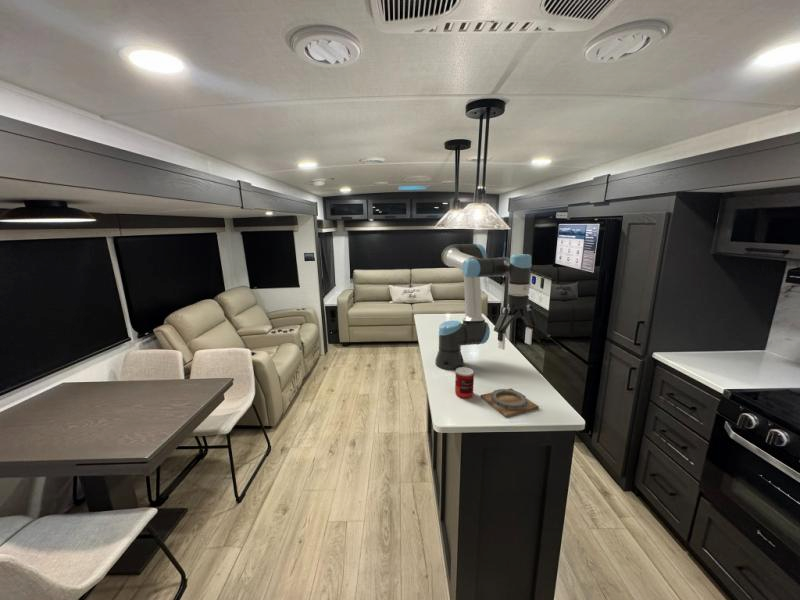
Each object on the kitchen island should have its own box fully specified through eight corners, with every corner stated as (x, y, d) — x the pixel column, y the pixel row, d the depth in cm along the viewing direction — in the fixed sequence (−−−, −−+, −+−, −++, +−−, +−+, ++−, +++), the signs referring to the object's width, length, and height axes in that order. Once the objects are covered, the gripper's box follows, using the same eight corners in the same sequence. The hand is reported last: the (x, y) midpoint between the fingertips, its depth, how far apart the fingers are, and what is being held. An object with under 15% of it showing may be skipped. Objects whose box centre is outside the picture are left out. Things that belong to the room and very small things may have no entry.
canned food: (462, 388, 137) (463, 365, 135) (477, 394, 131) (477, 371, 129) (451, 393, 132) (451, 370, 130) (465, 400, 126) (466, 376, 124)
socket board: (480, 397, 128) (480, 391, 128) (511, 390, 134) (511, 385, 133) (505, 417, 114) (505, 411, 113) (538, 409, 119) (539, 402, 118)
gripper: (499, 298, 109) (496, 354, 113) (550, 293, 118) (545, 344, 122) (486, 295, 116) (483, 347, 120) (535, 290, 125) (531, 338, 129)
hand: (514, 346), depth 121 cm, fingers open, 13 cm apart
